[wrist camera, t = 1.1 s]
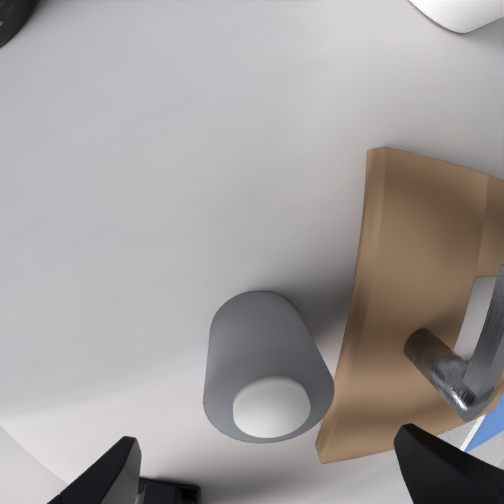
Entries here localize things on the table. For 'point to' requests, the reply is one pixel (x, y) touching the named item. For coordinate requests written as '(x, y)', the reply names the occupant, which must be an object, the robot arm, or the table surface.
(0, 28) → the supplement bottle
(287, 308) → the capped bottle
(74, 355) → the table surface
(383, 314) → the base board
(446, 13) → the beverage can
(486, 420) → the tablet computer
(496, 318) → the hook post
